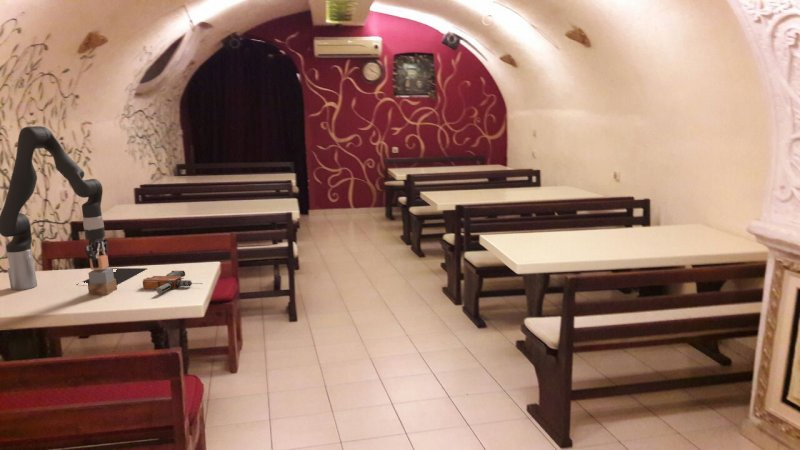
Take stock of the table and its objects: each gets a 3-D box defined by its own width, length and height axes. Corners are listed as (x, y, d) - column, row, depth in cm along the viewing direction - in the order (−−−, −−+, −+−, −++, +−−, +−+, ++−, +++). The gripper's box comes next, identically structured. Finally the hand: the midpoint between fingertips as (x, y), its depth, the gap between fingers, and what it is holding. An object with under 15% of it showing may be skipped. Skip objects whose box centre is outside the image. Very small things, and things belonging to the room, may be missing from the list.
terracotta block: (91, 269, 248) (89, 258, 247) (97, 266, 253) (95, 255, 252) (102, 269, 248) (100, 258, 247) (108, 266, 253) (107, 255, 252)
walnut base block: (89, 296, 249) (87, 284, 248) (99, 290, 257) (97, 279, 256) (107, 295, 249) (106, 284, 248) (117, 289, 256) (115, 278, 255)
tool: (165, 269, 275) (127, 286, 246) (220, 269, 271) (188, 286, 242) (166, 277, 276) (128, 295, 246) (220, 277, 272) (188, 296, 243)
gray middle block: (90, 284, 248) (88, 273, 247) (97, 279, 255) (96, 268, 254) (106, 283, 249) (105, 272, 247) (114, 278, 255) (112, 267, 254)
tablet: (110, 268, 290) (148, 268, 287) (110, 269, 290) (148, 269, 288) (74, 285, 264) (115, 285, 261) (74, 286, 264) (116, 287, 261)
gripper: (94, 223, 254) (100, 261, 258) (75, 230, 240) (81, 270, 244) (111, 223, 254) (116, 261, 257) (93, 230, 240) (98, 270, 243)
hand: (99, 265), depth 250 cm, fingers closed on terracotta block, 4 cm apart
